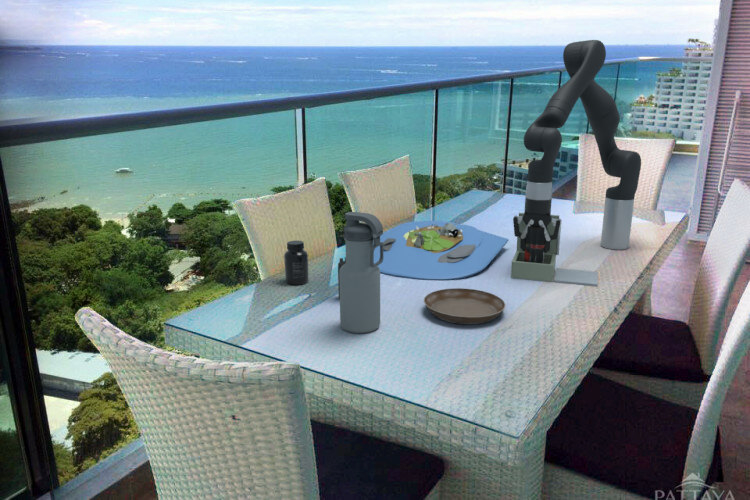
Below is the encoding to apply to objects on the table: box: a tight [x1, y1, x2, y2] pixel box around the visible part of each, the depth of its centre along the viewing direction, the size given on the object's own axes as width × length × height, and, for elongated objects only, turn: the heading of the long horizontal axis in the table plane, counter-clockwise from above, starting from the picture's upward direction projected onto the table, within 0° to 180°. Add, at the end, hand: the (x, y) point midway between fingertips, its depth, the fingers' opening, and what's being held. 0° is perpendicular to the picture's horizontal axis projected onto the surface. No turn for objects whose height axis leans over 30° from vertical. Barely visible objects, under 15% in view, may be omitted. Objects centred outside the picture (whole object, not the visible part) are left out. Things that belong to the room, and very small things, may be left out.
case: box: [510, 212, 562, 283], centre depth 191 cm, size 13×13×17 cm
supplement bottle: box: [283, 240, 310, 286], centre depth 185 cm, size 7×7×12 cm
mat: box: [553, 267, 599, 287], centre depth 189 cm, size 12×12×1 cm
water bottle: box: [338, 211, 384, 334], centre depth 151 cm, size 10×10×28 cm
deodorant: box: [524, 226, 547, 264], centre depth 191 cm, size 6×6×15 cm
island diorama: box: [373, 220, 509, 281], centre depth 208 cm, size 45×43×12 cm
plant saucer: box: [423, 287, 506, 325], centre depth 163 cm, size 21×21×3 cm
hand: (534, 251), depth 191 cm, fingers closed on deodorant, 6 cm apart
